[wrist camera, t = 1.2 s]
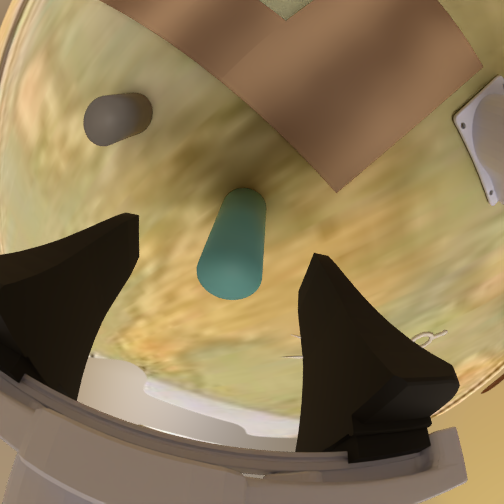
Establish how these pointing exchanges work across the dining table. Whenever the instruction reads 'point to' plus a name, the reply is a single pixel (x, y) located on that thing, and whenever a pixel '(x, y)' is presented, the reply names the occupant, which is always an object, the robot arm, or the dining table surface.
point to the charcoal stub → (116, 117)
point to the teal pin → (235, 247)
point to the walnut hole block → (324, 68)
